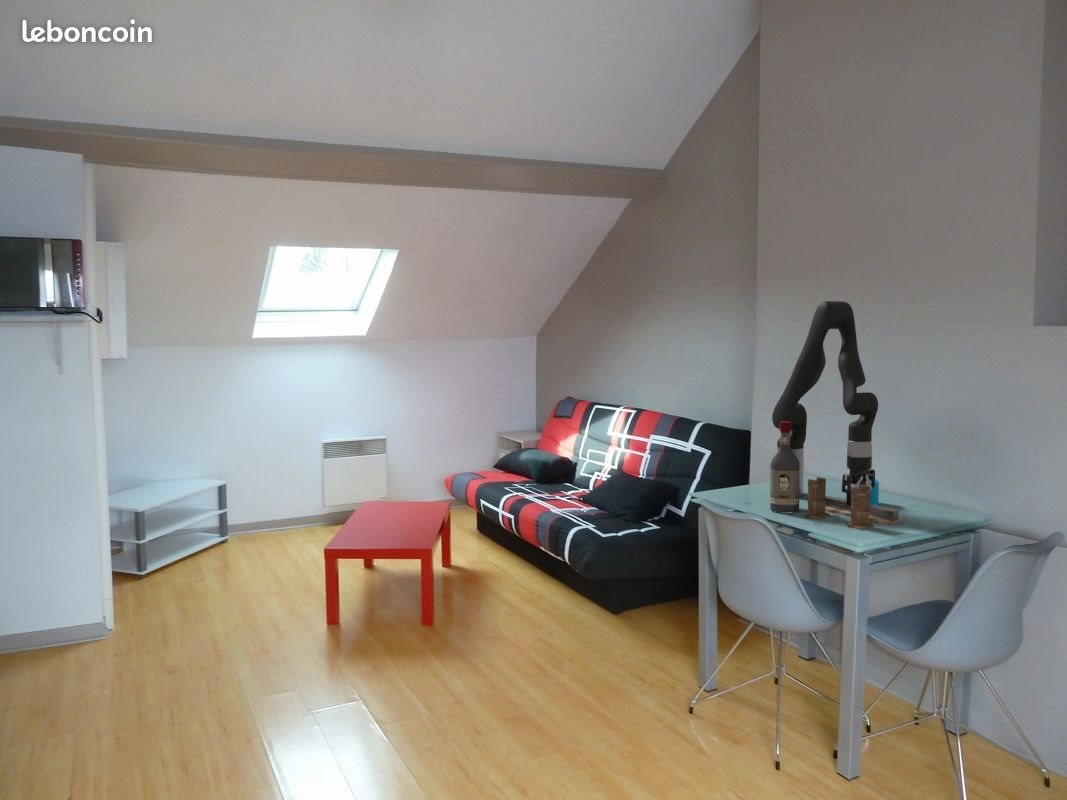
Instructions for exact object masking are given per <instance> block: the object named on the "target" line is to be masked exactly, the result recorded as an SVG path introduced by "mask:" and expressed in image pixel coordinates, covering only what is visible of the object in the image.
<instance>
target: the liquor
mask: <svg viewBox="0 0 1067 800" xmlns="http://www.w3.org/2000/svg"><path fill="white" fill-rule="evenodd" d="M790 431H791V422H789V421H782V422H780V429H779V432H780V438H781V439H780V450H779V451H778V453H777V452H776V454H775V455H774V456H773V457H772V459H771V462H770V464H769V465H770V469H769V470H770V471H769V472H770V475H769V476H770V479H769V481H770V482H769V485H770V487H769V489H770V490H769V492H770V493H769V496H770V497H769V498H770V499H769V501H770V502H769V505H770V506H769V507H770V511H771V510H772V511H771V512H773V511H776V512H797V513H798V512H799V510H800V496H799V481H800V462H799V459H798V458H797V457H796V456H795V454H794V453H793V452H792V451H791V447H790ZM776 512H775V513H776Z"/></svg>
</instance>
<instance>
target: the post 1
mask: <svg viewBox="0 0 1067 800" xmlns="http://www.w3.org/2000/svg"><path fill="white" fill-rule="evenodd" d="M826 487H827V478H824V477H819V476H817V477H816V479H811V478H808V479H807V513H803V516H805V517H804V518H807V517H809V518H808V519H811V518H813V519H812V520H816V519H817V520H819V518H820V519H823V518H822V517H824V518H827V517H826V516H828V517H830V516H831V513H830V512H826V511H825V504H826V496H827V495H826V494H827V493H826V491H827V490H826Z"/></svg>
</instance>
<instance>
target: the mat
mask: <svg viewBox="0 0 1067 800" xmlns="http://www.w3.org/2000/svg"><path fill="white" fill-rule="evenodd" d="M826 511H827V512H826ZM825 512H826V513H831V512H832V514H835V513H836V515H840V514H841V516H844V515H845V516H844V517H849V516H850V517H849V518H851V512H849V511H844V510H839V509H835V508H830V507H825ZM869 522H870V523H877V524H882V525H885V526H893V525H896V524H899V523H903V518H901V517H899V520H895V521H890V520H886V519H881V518H876V517H872V516H869Z"/></svg>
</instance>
